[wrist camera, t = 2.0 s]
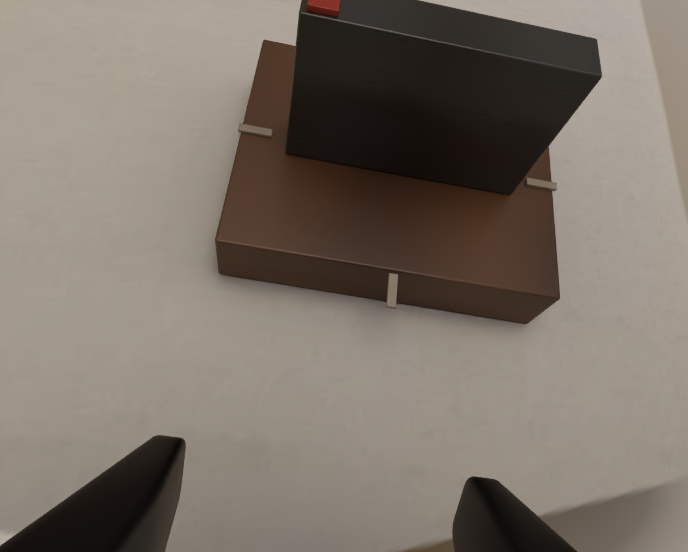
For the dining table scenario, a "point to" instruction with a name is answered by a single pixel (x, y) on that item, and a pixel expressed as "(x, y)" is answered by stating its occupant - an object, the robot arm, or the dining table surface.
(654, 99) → the dining table surface
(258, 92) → the dial panel
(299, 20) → the pointer
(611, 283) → the dining table surface
